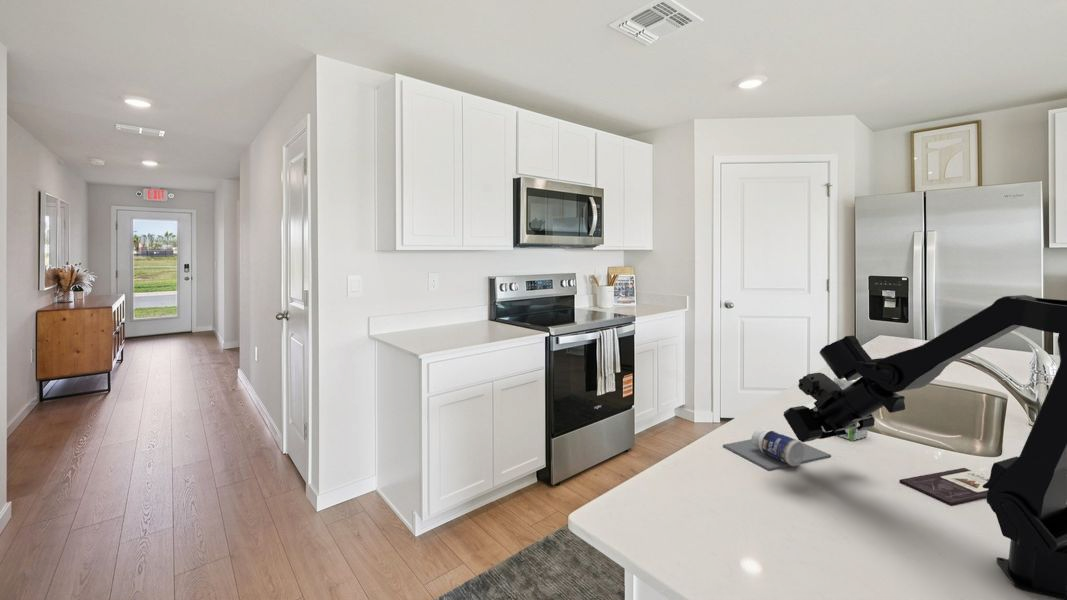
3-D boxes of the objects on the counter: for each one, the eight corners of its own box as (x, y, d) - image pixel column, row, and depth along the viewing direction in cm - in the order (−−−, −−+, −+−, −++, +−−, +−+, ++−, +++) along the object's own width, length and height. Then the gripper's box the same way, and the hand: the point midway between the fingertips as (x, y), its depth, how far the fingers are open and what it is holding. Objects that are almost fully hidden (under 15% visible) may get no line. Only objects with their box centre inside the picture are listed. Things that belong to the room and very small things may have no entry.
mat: (830, 457, 104) (831, 454, 104) (769, 470, 97) (769, 468, 97) (780, 435, 116) (780, 433, 116) (722, 446, 109) (722, 444, 109)
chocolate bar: (899, 479, 92) (964, 467, 97) (899, 484, 92) (963, 472, 98) (951, 503, 84) (1019, 488, 89) (950, 508, 84) (1018, 493, 89)
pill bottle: (784, 461, 96) (745, 444, 105) (799, 470, 99) (759, 452, 107) (795, 437, 97) (755, 422, 106) (809, 446, 99) (769, 431, 108)
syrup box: (829, 433, 117) (832, 376, 116) (844, 429, 120) (847, 373, 118) (852, 441, 112) (856, 381, 111) (868, 437, 115) (872, 378, 113)
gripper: (863, 359, 95) (810, 397, 106) (794, 367, 88) (746, 407, 99) (903, 409, 88) (842, 444, 100) (832, 423, 81) (775, 458, 93)
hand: (801, 436), depth 98 cm, fingers closed
